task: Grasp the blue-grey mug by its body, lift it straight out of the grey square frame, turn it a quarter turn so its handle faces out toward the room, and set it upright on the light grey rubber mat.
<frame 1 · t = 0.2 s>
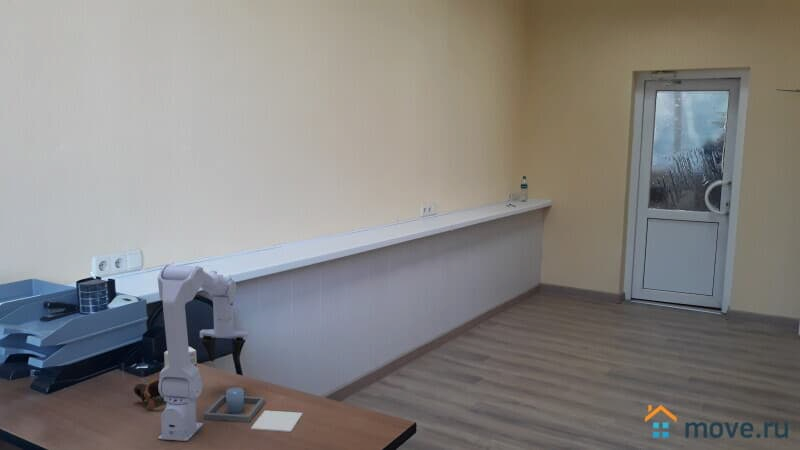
hand: (224, 361, 191), 10 cm above the table, tool pointing down, fingers open, 7 cm apart
grey square frame: (235, 410, 179), on the table
brown animal figurine: (154, 404, 183), on the table
ink box: (181, 387, 196), on the table
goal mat: (277, 421, 172), on the table
blue-grey mug: (236, 399, 179), in the grey square frame
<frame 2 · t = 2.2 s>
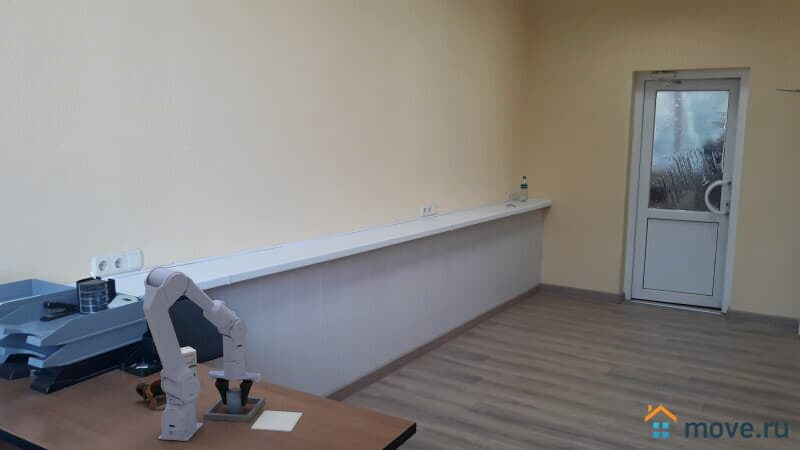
hand: (235, 404, 179), 2 cm above the table, tool pointing down, fingers closed on blue-grey mug, 5 cm apart
blue-grey mug: (236, 399, 179), in the grey square frame, touching gripper
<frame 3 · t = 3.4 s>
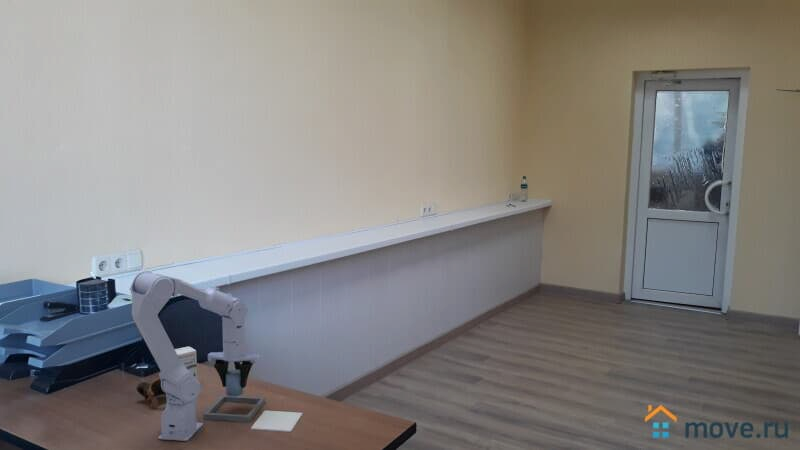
hand: (234, 386, 178), 7 cm above the table, tool pointing down, fingers closed on blue-grey mug, 5 cm apart
blue-grey mug: (235, 381, 179), point 8 cm above the table, touching gripper
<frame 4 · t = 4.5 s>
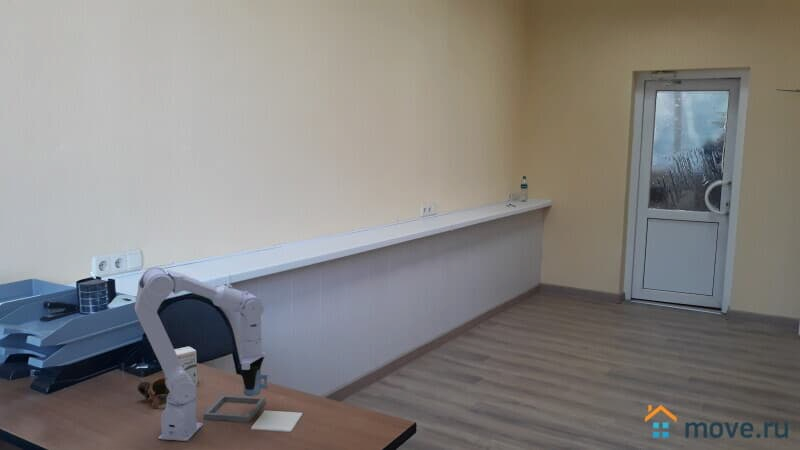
hand: (252, 385, 175), 9 cm above the table, tool pointing down, fingers closed on blue-grey mug, 5 cm apart
blue-grey mug: (255, 382, 174), point 10 cm above the table, touching gripper
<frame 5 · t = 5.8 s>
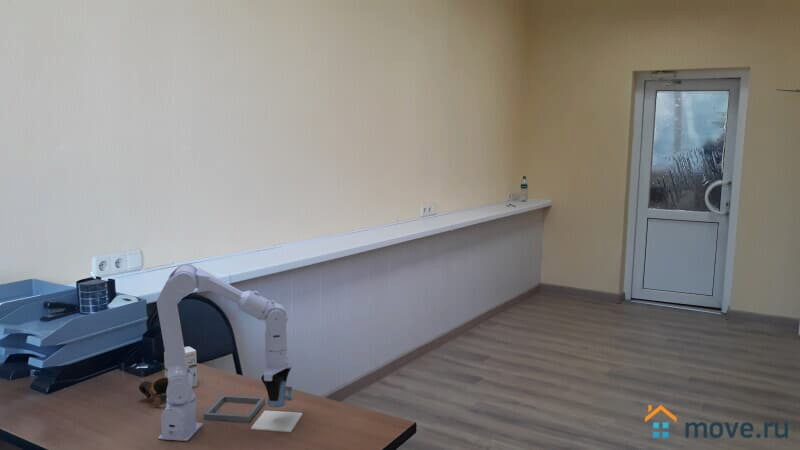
hand: (277, 396, 171), 7 cm above the table, tool pointing down, fingers closed on blue-grey mug, 5 cm apart
blue-grey mug: (280, 393, 171), point 8 cm above the table, touching gripper
when the fingers open (4 cm above the table, at t = 7.0 s): blue-grey mug drops 1 cm, resting on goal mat.
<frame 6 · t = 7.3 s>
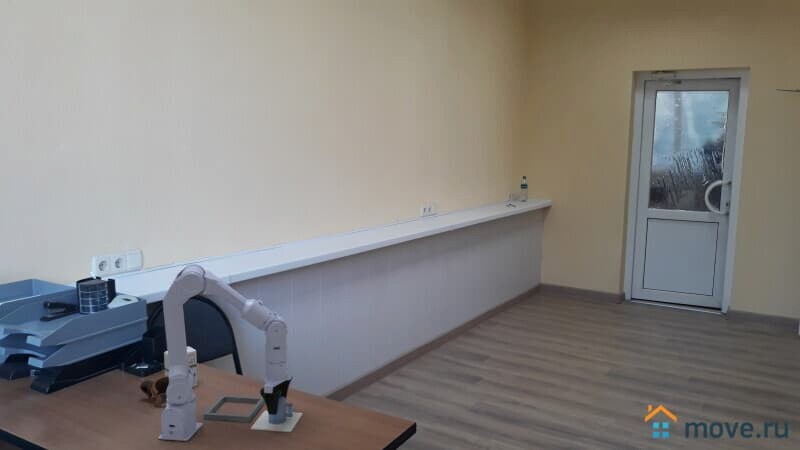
hand: (277, 408, 172), 4 cm above the table, tool pointing down, fingers open, 7 cm apart
blue-grey mug: (280, 409, 172), on the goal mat
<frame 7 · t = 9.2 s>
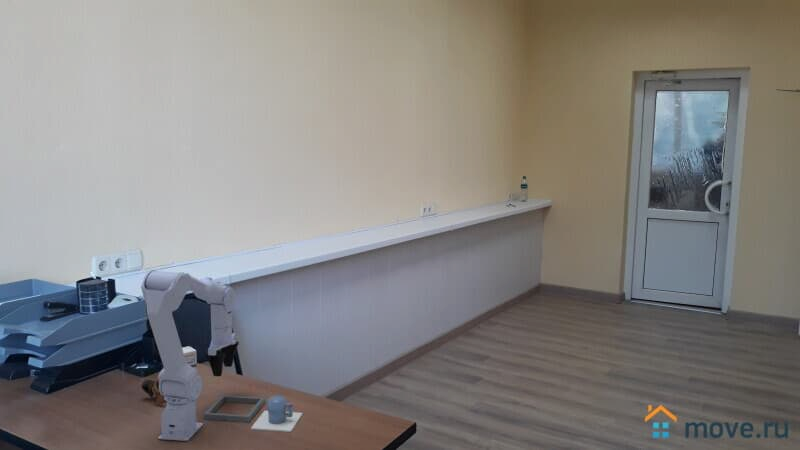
hand: (223, 371, 184), 9 cm above the table, tool pointing down, fingers open, 7 cm apart
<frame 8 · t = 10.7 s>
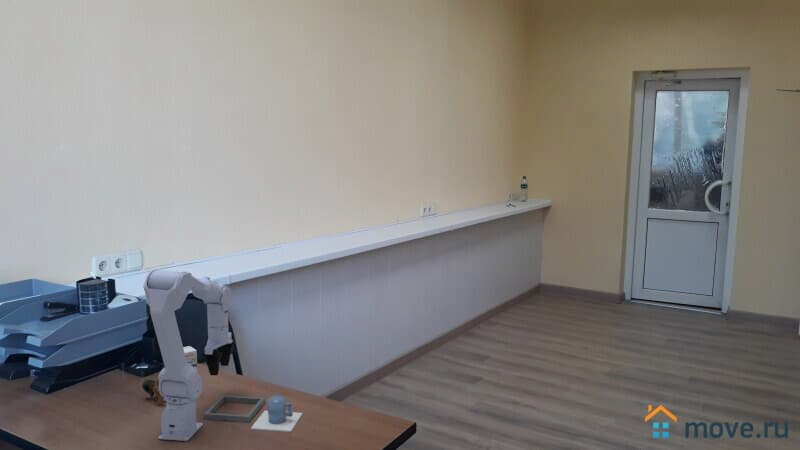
hand: (219, 370, 184), 9 cm above the table, tool pointing down, fingers open, 7 cm apart
at the end: blue-grey mug inside the target area on the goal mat (0.0 cm from its centre), point 3.4 cm above the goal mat's base; blue-grey mug tilted 1°; the gripper is holding nothing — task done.
